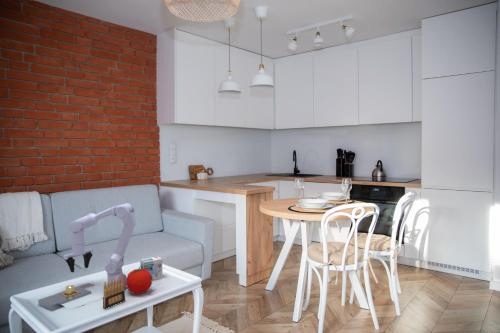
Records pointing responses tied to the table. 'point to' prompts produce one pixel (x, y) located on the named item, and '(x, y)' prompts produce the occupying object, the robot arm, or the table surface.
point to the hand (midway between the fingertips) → (79, 269)
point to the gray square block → (86, 285)
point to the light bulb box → (152, 266)
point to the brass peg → (69, 290)
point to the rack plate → (61, 299)
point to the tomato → (139, 281)
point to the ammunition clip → (113, 293)
